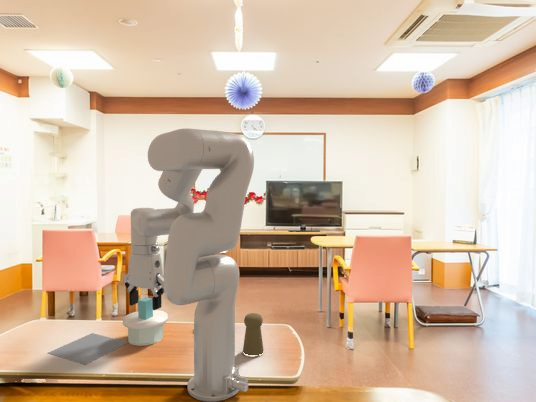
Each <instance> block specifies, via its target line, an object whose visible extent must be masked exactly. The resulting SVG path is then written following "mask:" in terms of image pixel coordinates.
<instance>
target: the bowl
mask: <svg viewBox="0 0 536 402" xmlns="http://www.w3.org/2000/svg"><path fill="white" fill-rule="evenodd" d="M127 334H128V335H127V339H128V340H127V342H129V343H128V344H130V345H133V346H139V347H140V346H142V347H144V346H151V345H154V344H156V343H159V342H160V341H162V339H163V338H164V337H165V336H164V324H162V325H160V326H157V327H153V328H148V329H131V328H127Z"/></svg>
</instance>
